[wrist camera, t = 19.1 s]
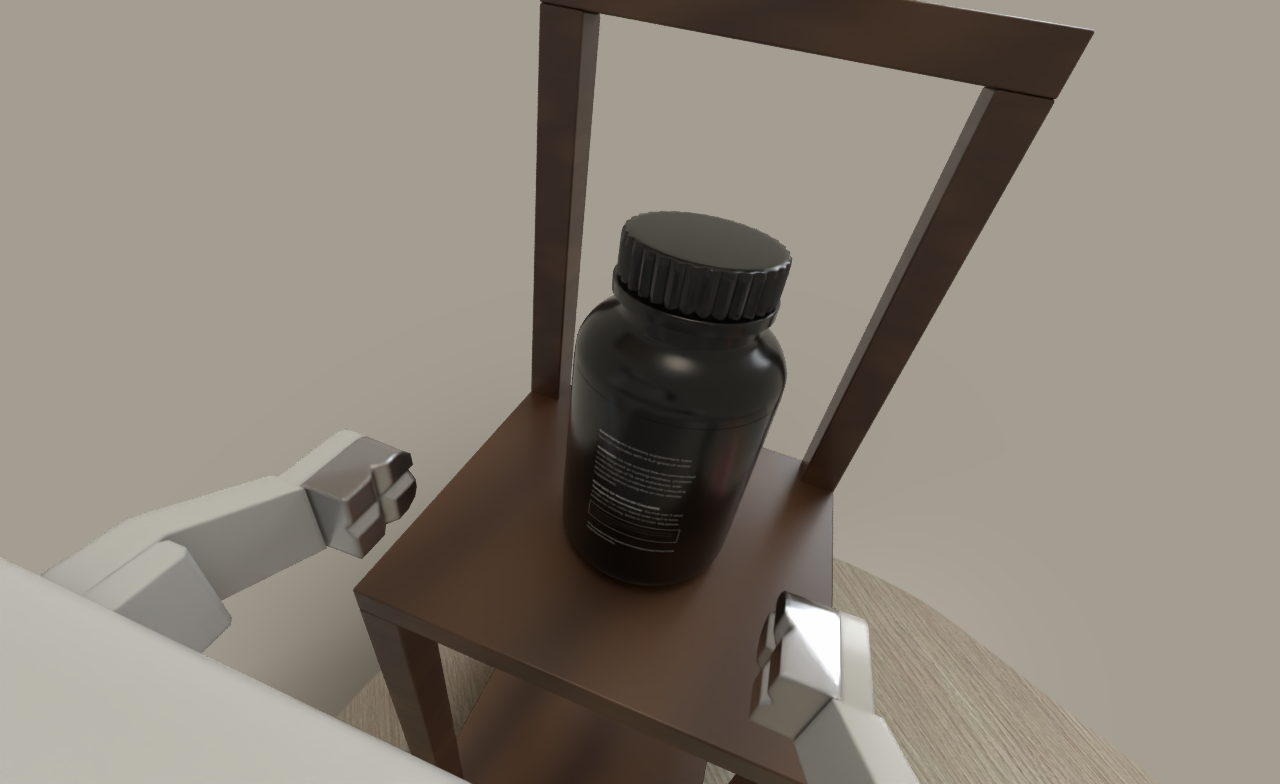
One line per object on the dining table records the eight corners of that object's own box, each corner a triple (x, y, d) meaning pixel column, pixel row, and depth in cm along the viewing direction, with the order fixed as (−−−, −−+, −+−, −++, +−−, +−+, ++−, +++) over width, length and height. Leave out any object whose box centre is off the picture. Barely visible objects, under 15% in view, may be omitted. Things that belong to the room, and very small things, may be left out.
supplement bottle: (756, 537, 21) (882, 269, 14) (630, 630, 17) (715, 321, 10) (651, 440, 25) (706, 191, 18) (528, 497, 21) (535, 206, 14)
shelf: (431, 811, 32) (49, -254, 6) (534, 618, 43) (562, -54, 17) (665, 930, 29) (1884, -38, 3) (712, 692, 40) (1073, 32, 14)
